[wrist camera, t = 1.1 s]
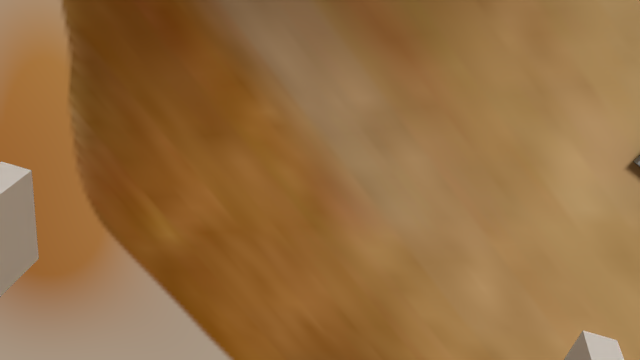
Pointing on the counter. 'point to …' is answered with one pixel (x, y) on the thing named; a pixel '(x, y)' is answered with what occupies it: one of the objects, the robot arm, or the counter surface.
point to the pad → (637, 161)
